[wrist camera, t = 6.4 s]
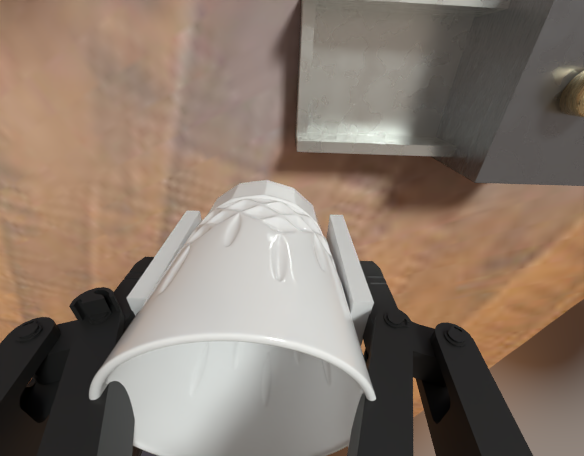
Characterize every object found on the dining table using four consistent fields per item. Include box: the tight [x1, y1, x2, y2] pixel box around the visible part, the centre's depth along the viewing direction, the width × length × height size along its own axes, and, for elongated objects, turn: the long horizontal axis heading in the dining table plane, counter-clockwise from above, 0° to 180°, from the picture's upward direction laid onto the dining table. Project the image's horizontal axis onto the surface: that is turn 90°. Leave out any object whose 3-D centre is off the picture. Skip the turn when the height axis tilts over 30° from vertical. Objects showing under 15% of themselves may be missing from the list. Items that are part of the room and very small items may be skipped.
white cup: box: [89, 180, 376, 456], centre depth 12 cm, size 8×8×10 cm
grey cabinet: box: [295, 0, 584, 186], centre depth 21 cm, size 26×14×11 cm, turn 88°
